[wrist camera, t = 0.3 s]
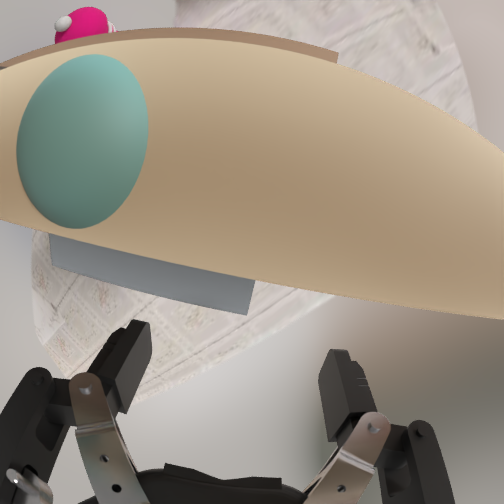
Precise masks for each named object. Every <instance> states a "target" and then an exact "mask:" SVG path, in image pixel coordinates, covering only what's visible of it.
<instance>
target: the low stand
mask: <svg viewBox="0 0 504 504" xmlns="http://www.w3.org/2000/svg"><path fill="white" fill-rule="evenodd" d="M49 238H50V250H51V259H52V265H53V266H56V267H59V268H62V269H65V270H68V271H71V272H74V273H78V274H81V275H84V276H87V277H91V278H94V279H97V280H101V281H104V282H108V283H111V284H115V285H118V286H122V287H125V288H129V289H133V290H137V291H140V292H144V293H148V294H152V295H156V296H160V297H164V298H168V299H172V300H177V301H181V302H185V303H190V304H194V305H198V306H203V307H208V308H212V309H217V310H222V311H227V312H232V313H237V314H242V315H247V313H248V309H249V304H250V300H251V296H252V292H253V288H254V284H255V280H253V279H248V278H243V277H238V276H233V275H228V274H223V273H218V272H213V271H209V270H204V269H199V268H194V267H190V266H185V265H181V264H176V263H171V262H167V261H162V260H158V259H154V258H149V257H145V256H140V255H136V254H132V253H128V252H123V251H119V250H115V249H111V248H107V247H102V246H98V245H94V244H90V243H86V242H82V241H78V240H74V239H70V238H66V237H62V236H59V235H55V234H51V233H49Z"/></svg>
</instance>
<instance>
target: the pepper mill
mask: <svg viewBox="0 0 504 504" xmlns="http://www.w3.org/2000/svg"><path fill="white" fill-rule="evenodd" d="M55 30H56V31H57V32H56V35H55V44H57V43H61V42H65V41H69V40H73V39H78V38H82V37H87V36H93V35H98V34H104V33H111V32H118V31H116V28H115V26H114V24H113V23H111V22H109V21H108V20H107V17H106V15H105V14H104V13H103V12H102V11H101V10H99V9H97V8H94V7H84V8H80V9H77V10H75V11H73V12H72V13H70V14H69V15H68V16H63V17H60V18H59V19H58V20H57V21H56V23H55Z"/></svg>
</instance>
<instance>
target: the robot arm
mask: <svg viewBox="0 0 504 504" xmlns="http://www.w3.org/2000/svg"><path fill="white" fill-rule="evenodd" d="M151 355H152V342H151V332H150V324H149V323H148V322H144V321H139V320H135V319H133V320H131V322H130V323H129V325H128V326H127V328H126V329H125V328H119V329H118V330H116V331H115V332H113V333H112V334H111V335H110V337H109V338H108V340H107V343H105V344H104V346H103V349H101V350H100V352H99V353H98V355H97V357H96V358H95V360H94V361H93V363H92V364H91V366H90V367H89V369H88V371H87V372H84V373H79V374H77V375H75V376H74V377H72V379H71V380H70V379H58V378H52V376H51V374H50V372H49V371H48V370H47V369H45V368H42V367H36V368H33V369H31V370H29V371H28V372H27V373H26V374H25V376H24V377H23V379H22V380H21V382H20V383H19V385H18V386H17V388H16V390H15V391H14V393H13V394H12V396H11V397H10V399H9V401H8V402H7V404H6V406H5V407H4V409H3V411H2V413H1V414H0V504H53V494H52V491H51V489H50V487H49V486H48V485H47V483H48V480H49V478H50V475H51V472H52V470H53V467H54V464H55V461H56V459H57V456H58V454H59V451H60V449H61V446H62V444H63V442H64V439H65V437H66V434H67V432H68V430H69V428H70V426H77V430H75V435H76V439H77V442H78V446H79V449H80V453H81V456H82V460H83V462H84V466H85V469H86V471H87V474H88V477H89V480H90V483H91V485H92V488H93V490H94V493H95V496H93V497H91V498H89V499H87V500H85V501H82V502H80V503H78V504H357V502H358V500H359V499H360V497H361V495H362V494H363V492H364V490H365V489H366V487H367V485H368V484H369V482H370V480H371V478H372V476H373V474H374V472H375V469H374V468H373V467H377V469H378V475H379V481H380V488H381V495H382V503H383V504H455V501H454V497H453V492H452V488H451V485H450V481H449V478H448V474H447V470H446V467H445V463H444V460H443V457H442V454H441V450H440V447H439V444H438V441H437V438H436V435H435V433H434V430H433V428H432V426H431V425H430V424H429V423H427V422H425V421H422V420H416V421H413V422H412V423H411V424H410V425H409V426H408V427H406V426H399V425H394V424H390V422H389V420H388V419H387V418H386V417H385V416H384V415H383V414H381V413H378V412H377V409H376V406H375V403H374V400H373V397H372V394H371V391H370V388H369V387H368V382H367V380H366V376H365V374H364V371H363V369H362V367H361V366H360V365H359V364H358V363H357V362H356V361H351V359H350V356H349V353H348V351H347V350H340V349H330V350H329V352H328V354H327V357H326V359H325V361H324V364H323V366H322V368H321V370H320V373H319V379H318V384H319V390H320V395H321V401H322V407H323V413H324V419H325V424H326V430H327V437H328V442H337V445H338V447H337V448H336V449H335V451H334V452H333V454H332V455H331V457H330V458H329V459H328V461H327V462H326V464H325V465H324V466H323V468H322V469H321V470H320V472H319V473H318V474H317V476H316V477H315V478H314V479H313V480H312V481H311V483H310V484H309V485H308V486H307V487H306V488H305V489H304V490H303V492H301V491H299V490H297V489H295V488H293V487H290V486H287V485H284V484H282V481H281V478H267V477H247V478H239V479H230V480H221V479H218V478H215V477H212V476H209V475H207V474H204V473H202V472H199V471H197V470H194V469H191V468H186V467H181V466H176V465H172V464H167V463H165V466H164V469H150V470H145V471H141V472H138V470H137V468H136V466H135V464H134V462H133V460H132V458H131V455H130V453H129V451H128V449H127V447H126V444H125V442H124V439H123V437H122V434H121V432H120V429H119V427H118V424H117V421H116V419H115V418H116V416H117V414H118V412H121V413H124V414H127V411H128V409H129V407H130V404H131V402H132V400H133V397H134V395H135V393H136V391H137V388H138V386H139V384H140V381H141V379H142V377H143V375H144V373H145V370H146V368H147V366H148V364H149V362H150V359H151Z"/></svg>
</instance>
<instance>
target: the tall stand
mask: <svg viewBox="0 0 504 504" xmlns="http://www.w3.org/2000/svg"><path fill="white" fill-rule="evenodd" d="M153 38H193V39H211V40H223V41H233V42H241V43H248V44H255V45H261V46H267V47H272V48H277V49H282V50H287V51H292V52H296V53H300V54H304V55H308V56H312V57H316V58H319V59H323V60H326V61H329V62H333V63H336V64H337V59H338V53H337V52H334V51H331V50H328V49H324V48H321V47H317V46H314V45H310V44H306V43H302V42H298V41H293V40H289V39H284V38H279V37H274V36H268V35H263V34H256V33H249V32H242V31H233V30H222V29H208V28H151V29H138V30H127V31H118V32H111V33H104V34H98V35H93V36H87V37H82V38H78V39H73V40H69V41H65V42H61V43H57V44H54V45H50V46H47V47H43V48H40V49H37V50H34V51H31V52H28V53H26V54H23V55H20V56H17V57H15V58H12V59H10V60H7V61H5V62H3V63H0V66H3V67H10V66H13V65H15V64H18V63H21V62H24V61H27V60H30V59H33V58H37V57H40V56H44V55H47V54H51V53H55V52H59V51H63V50H67V49H72V48H77V47H82V46H87V45H93V44H99V43H106V42H114V41H124V40H135V39H153Z"/></svg>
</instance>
